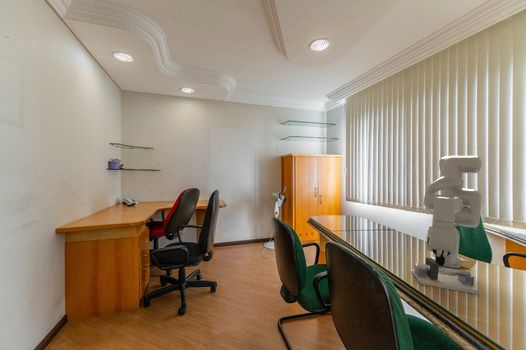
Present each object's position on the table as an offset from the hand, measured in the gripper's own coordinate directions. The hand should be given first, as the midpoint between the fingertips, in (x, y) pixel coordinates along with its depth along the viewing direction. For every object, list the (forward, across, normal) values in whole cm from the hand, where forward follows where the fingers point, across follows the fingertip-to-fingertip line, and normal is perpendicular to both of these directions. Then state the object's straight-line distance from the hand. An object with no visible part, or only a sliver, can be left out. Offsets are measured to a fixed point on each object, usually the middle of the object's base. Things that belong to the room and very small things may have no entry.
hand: (439, 264), depth 98 cm
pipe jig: (+8, -1, 0) cm, 8 cm away
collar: (+6, +3, 0) cm, 6 cm away
